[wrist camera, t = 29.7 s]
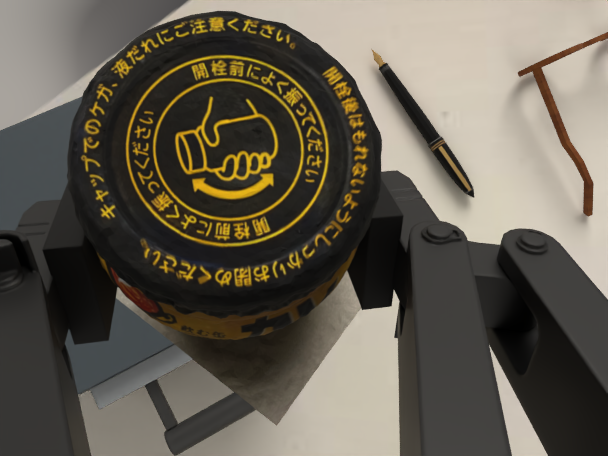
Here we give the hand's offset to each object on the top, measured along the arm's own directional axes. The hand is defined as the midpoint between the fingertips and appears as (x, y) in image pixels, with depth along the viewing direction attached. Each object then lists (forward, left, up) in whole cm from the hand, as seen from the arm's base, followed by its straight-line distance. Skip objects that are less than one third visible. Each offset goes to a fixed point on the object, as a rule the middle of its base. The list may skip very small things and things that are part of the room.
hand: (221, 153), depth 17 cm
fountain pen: (+18, -4, -22) cm, 29 cm away
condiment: (-2, -3, -4) cm, 5 cm away
